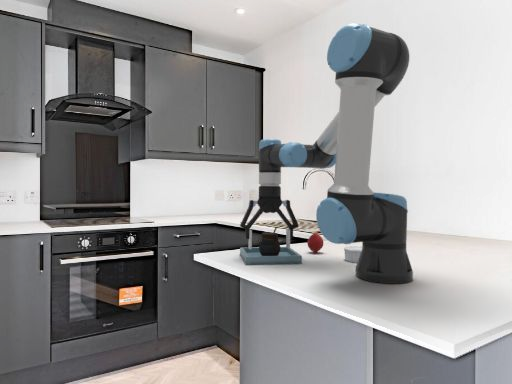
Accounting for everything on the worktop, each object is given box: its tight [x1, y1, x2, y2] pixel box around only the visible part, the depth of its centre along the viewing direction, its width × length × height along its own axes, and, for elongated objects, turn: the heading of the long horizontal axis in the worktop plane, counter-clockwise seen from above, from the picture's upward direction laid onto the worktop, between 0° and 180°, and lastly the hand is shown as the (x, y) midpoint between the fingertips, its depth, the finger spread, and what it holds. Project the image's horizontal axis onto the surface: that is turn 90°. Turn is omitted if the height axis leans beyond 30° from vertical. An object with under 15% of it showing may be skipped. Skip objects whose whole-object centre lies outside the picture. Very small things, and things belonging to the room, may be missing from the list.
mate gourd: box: [258, 226, 281, 256], centre depth 134 cm, size 7×8×10 cm
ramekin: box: [343, 245, 362, 264], centre depth 133 cm, size 9×9×4 cm
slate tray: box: [239, 246, 303, 266], centre depth 134 cm, size 18×18×2 cm
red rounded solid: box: [307, 230, 324, 254], centre depth 146 cm, size 6×6×8 cm
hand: (269, 248), depth 134 cm, fingers open, 12 cm apart
